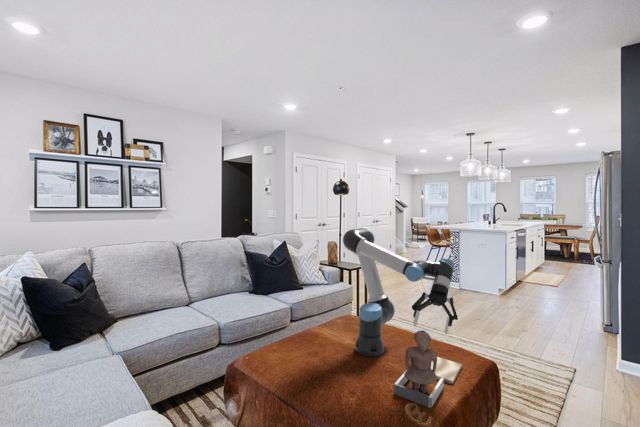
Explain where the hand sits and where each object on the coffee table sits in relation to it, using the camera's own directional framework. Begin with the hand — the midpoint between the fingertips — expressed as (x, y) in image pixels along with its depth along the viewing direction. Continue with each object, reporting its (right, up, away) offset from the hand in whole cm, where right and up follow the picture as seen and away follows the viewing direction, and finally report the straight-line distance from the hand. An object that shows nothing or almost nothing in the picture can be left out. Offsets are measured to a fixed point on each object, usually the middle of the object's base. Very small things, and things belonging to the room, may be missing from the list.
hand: (429, 328), depth 141 cm
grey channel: (-7, -23, -8) cm, 25 cm away
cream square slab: (+8, -23, +9) cm, 25 cm away
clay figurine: (-7, -23, -8) cm, 25 cm away
